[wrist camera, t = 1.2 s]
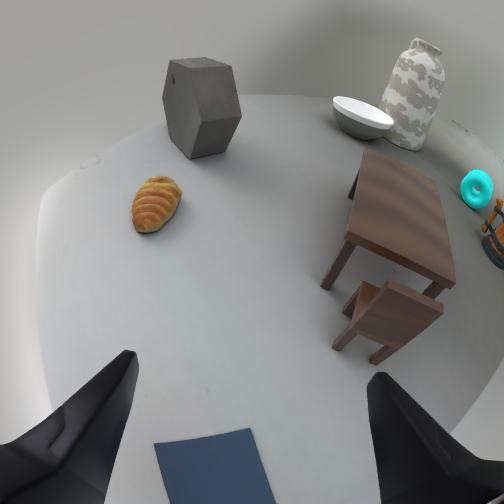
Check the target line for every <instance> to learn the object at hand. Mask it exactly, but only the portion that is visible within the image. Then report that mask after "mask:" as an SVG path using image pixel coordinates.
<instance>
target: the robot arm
mask: <svg viewBox="0 0 504 504" xmlns="http://www.w3.org/2000/svg"><path fill="white" fill-rule="evenodd" d="M138 372H139V364H138V359H137V354H136V352H134V351H130V350H124V351H123V352H122V353H120V354H119V355H118V356H117V357H116V358H115V359H114V360H112V361H111V362H110V363H109V364H108V365H107V366H106V367H104V368H103V369H102V370H101V371H100V372H99V373H98V374H96V375H95V376H94V377H93V378H92V379H91V380H90V381H88V382H87V383H86V384H85V385H84V386H83V387H82V388H81V389H79V390H78V391H77V392H76V393H75V394H74V395H73V396H72V397H70V398H69V399H68V400H67V401H66V402H65V403H64V404H63V405H62V406H60V407H59V408H58V409H57V410H56V411H54V412H53V413H52V414H51V415H50V416H48V417H47V418H46V419H45V420H43V421H42V422H41V423H39V424H38V425H37V426H35V427H34V428H32V429H31V430H29V431H28V432H26V433H25V434H23V435H22V436H20V437H19V438H17V439H16V440H14V441H12V442H10V443H7V444H4V445H0V504H104V501H105V497H106V493H107V489H108V485H109V481H110V477H111V473H112V470H113V466H114V462H115V459H116V455H117V452H118V449H119V445H120V442H121V438H122V435H123V432H124V429H125V425H126V422H127V419H128V416H129V413H130V410H131V406H132V401H133V396H134V391H135V386H136V382H137V377H138ZM367 399H368V411H369V422H370V428H371V434H372V439H373V445H374V452H375V458H376V465H377V472H378V480H379V488H380V497H381V504H504V461H492V460H483V459H480V458H478V457H476V456H475V455H473V454H472V453H471V452H470V451H468V450H467V449H466V448H465V447H463V446H462V445H461V444H460V443H458V442H457V441H456V440H455V439H454V438H453V437H452V436H451V435H449V434H448V433H447V432H446V431H445V430H444V429H443V428H442V427H441V426H439V424H438V423H437V422H436V421H435V420H434V419H433V418H432V417H431V416H430V415H429V414H428V413H427V412H426V411H425V410H424V409H423V408H422V407H421V406H420V405H419V404H418V403H417V402H416V401H415V400H414V399H413V398H412V397H411V396H410V395H409V394H408V393H407V392H406V391H405V390H404V389H403V388H402V387H401V386H400V385H399V384H398V383H397V382H396V381H395V380H394V379H393V378H392V377H391V376H389V375H388V374H387V373H386V372H377V373H375V374H374V376H373V377H372V379H371V380H370V382H369V383H368V385H367Z"/></svg>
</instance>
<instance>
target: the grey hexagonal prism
mask: <svg viewBox="0 0 504 504" xmlns="http://www.w3.org/2000/svg"><path fill="white" fill-rule="evenodd" d="M162 99H163V104H164V110H165V114H166V120H167V125H168V130H169V135H170V139H171V140H172V141H173V142H174V143H175V145H176V146H177V147H178V148H179V149H180V150H181V151H182V152H183V153H184V155H185V156H186V157H187V158H188V159H194V158H198V157H202V156H206V155H211V154H215V153H220V152H225V151H226V149H227V147H228V145H229V143H230V140H231V138H232V136H233V134H234V132H235V130H236V128H237V126H238V124H239V121H240V119H241V117H242V114H241V109H240V104H239V100H238V95H237V90H236V85H235V81H234V76H233V71H232V67H231V66H230V65H227V64H224V63H221V62H218V61H215V60H212V59H209V58H206V57H204V58H187V59H176V60H170V62H169V66H168V71H167V76H166V81H165V86H164V91H163V96H162Z"/></svg>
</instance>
